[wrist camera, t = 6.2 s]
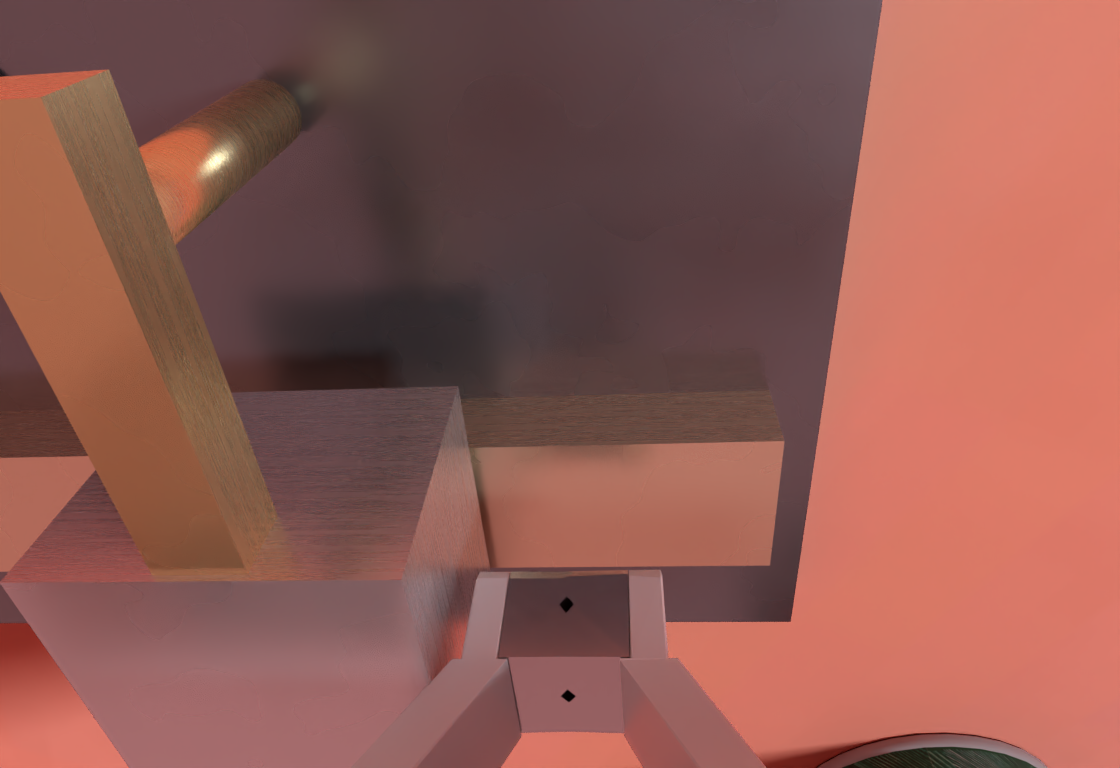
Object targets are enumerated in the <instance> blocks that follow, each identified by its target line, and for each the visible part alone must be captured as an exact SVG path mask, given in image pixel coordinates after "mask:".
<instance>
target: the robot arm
mask: <svg viewBox="0 0 1120 768" xmlns="http://www.w3.org/2000/svg"><path fill="white" fill-rule="evenodd" d="M530 732H601V733H624V736H625V738H626V740H627V741H628V743H629V745H630V746H631V748H632V750H633V751H634V753H635V755H636V756H637V758H638V760H639V761H640V763H641V765H642V766H643V768H766V766H765V765H764V764H763V763H762V761H761V760H760V759H759V758H758V756H757V755H756V754H755V753H754V752H753V750H752V749H751V748H750V747H749V745H748V744H747V743H746V742H745V740H744V739H743V738H742V737H741V736H740V734H739V733H738V732H737V731H736V729H735V728H734V727H733V726H732V724H731V723H730V722H729V721H728V719H727V718H726V717H725V716H724V715H723V713H722V712H721V711H720V710H719V708H718V707H717V706H716V705H715V703H714V702H713V701H712V700H711V699H710V697H709V696H708V695H707V694H706V692H705V691H704V690H703V689H702V687H701V686H700V685H699V684H698V683H697V681H696V680H695V679H694V678H693V676H692V675H691V674H690V673H689V671H688V670H687V669H686V668H685V666H684V665H683V664H682V663H681V662H680V660H679V659H678V658H668V647H667V633H666V620H665V606H664V592H663V579H662V573H661V570H629V580H628V570H602V571H567V572H513V571H511V572H480V573H479V575H478V577H477V579H476V583H475V588H474V593H473V599H472V604H471V609H470V614H469V620H468V625H467V630H466V636H465V641H464V646H463V651H462V657H461V659H452V660H451V661H450V662H449V663H448V664H447V665H446V666H445V667H444V668H443V669H442V670H441V671H440V672H439V674H438V675H437V676H436V677H435V678H434V679H433V680H432V681H431V683H430V685H427V686H426V687H425V689H424V690H423V691H422V692H421V693H420V694H419V695H418V696H417V697H416V698H415V699H414V700H413V701H412V702H411V704H410V705H409V706H408V707H407V708H406V709H405V710H404V711H403V712H402V713H401V714H400V715H399V716H398V718H397V719H396V720H395V721H394V722H393V723H392V724H391V725H390V726H389V727H388V728H387V729H386V730H385V731H384V733H383V734H382V735H381V736H380V737H379V738H378V739H377V740H376V741H375V742H374V743H373V744H372V745H371V746H370V748H369V749H368V750H367V751H366V752H365V753H364V754H363V755H362V756H361V757H360V758H359V759H358V760H357V761H356V763H355V764H354V765H353V766H352V767H351V768H501V766H502V765H503V763H504V762H505V760H506V759H507V757H508V756H509V754H510V753H511V751H512V750H513V748H514V747H515V745H516V744H517V742H518V741H519V739H520V738H521V733H530Z"/></svg>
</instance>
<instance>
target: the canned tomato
mask: <svg viewBox="0 0 1120 768" xmlns="http://www.w3.org/2000/svg"><path fill="white" fill-rule="evenodd" d="M818 768H1047V767H1046V765H1045V764H1044V763H1043V762H1042V761H1041V760H1039V759H1038V758H1036V757H1034V756H1033V755H1031V754H1029V753H1028V752H1026V751H1024V750H1023V749H1020V748H1018V747H1015V746H1012V745H1009V744H1007V743H1004V742H1001V741H997V740H993V739H988V738H983V737H978V736H970V735H958V734H922V735H912V736H905V737H898V738H891V739H887V740H883V741H879V742H875V743H871V744H867V745H863V746H861V747H858V748H855V749H853V750H850V751H847V752H845V753H842V754H840V755H838V756H836V757H834V758H833V759H831V760H829V761H827V762H825V763H823V764H822V765H820V766H819V767H818Z"/></svg>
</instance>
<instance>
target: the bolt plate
mask: <svg viewBox="0 0 1120 768" xmlns="http://www.w3.org/2000/svg"><path fill="white" fill-rule="evenodd" d="M881 7H882V0H0V77H4V76H19V75H34V74H49V73H64V72H79V71H94V70H109V71H110V73H111V76H112V79H113V81H114V84H115V87H116V89H117V92H118V95H119V97H120V100H121V103H122V105H123V108H124V111H125V113H126V116H127V118H128V121H129V124H130V126H131V129H132V132H133V134H134V137H135V140H136V142H137V145H138V148H139V147H140V146H142V145H144V144H145V143H147V142H149V141H150V140H152V139H154V138H155V137H157V136H159V135H160V134H162V133H164V132H165V131H167V130H169V129H170V128H172V127H174V126H175V125H177V124H179V123H180V122H182V121H184V120H185V119H187V118H189V117H190V116H192V115H194V114H195V113H197V112H199V111H200V110H202V109H204V108H205V107H207V106H209V105H210V104H212V103H214V102H215V101H217V100H219V99H220V98H222V97H224V96H225V95H227V94H229V93H230V92H232V91H234V90H235V89H237V88H239V87H240V86H242V85H244V84H245V83H247V82H249V81H252V80H257V79H264V80H269V81H272V82H275V83H277V84H279V85H281V86H282V87H284V88H285V89H286V90H287V91H288V92H289V93H290V94H291V95H292V96H293V98H294V99H295V101H296V102H297V104H298V106H299V109H300V112H301V116H302V127H301V131H300V134H299V136H298V137H297V139H296V140H295V141H294V142H293V143H292V144H291V145H290V146H288V147H287V148H286V149H285V150H284V151H283V152H282V153H280V154H279V155H278V156H277V157H276V158H275V159H274V160H272V161H271V162H270V163H269V164H268V165H267V166H266V167H264V168H263V169H262V170H261V171H260V172H259V173H258V174H256V175H255V176H254V177H253V178H252V179H251V180H250V181H248V182H247V183H246V184H245V185H244V186H243V187H242V188H240V189H239V190H238V191H237V192H236V193H235V194H234V195H232V196H231V197H230V198H229V199H228V200H227V201H226V202H224V203H223V204H222V205H221V206H220V207H219V208H218V209H216V210H215V211H214V212H213V213H212V214H211V215H210V216H208V217H207V218H206V219H205V220H204V221H203V222H202V223H200V224H199V225H198V226H197V227H196V228H195V229H194V230H192V231H191V232H190V233H189V234H188V235H187V236H186V237H185V238H183V239H182V240H181V241H180V242H179V243H178V244H177V245H176V248H177V251H178V253H179V256H180V259H181V261H182V264H183V267H184V269H185V272H186V275H187V277H188V280H189V282H190V285H191V288H192V290H193V293H194V296H195V298H196V301H197V304H198V306H199V309H200V312H201V314H202V317H203V320H204V322H205V325H206V327H207V330H208V333H209V335H210V338H211V341H212V343H213V346H214V349H215V351H216V354H217V357H218V359H219V362H220V365H221V367H222V370H223V372H224V375H225V378H226V380H227V383H228V386H229V388H230V391H231V393H236V392H271V391H306V390H341V389H376V388H411V387H446V386H458V389H459V395H460V400H461V406H462V412H463V418H464V423H465V429H466V435H467V440H468V446H469V452H470V457H471V463H472V469H473V474H474V480H475V486H476V491H477V497H478V503H479V509H480V514H481V520H482V526H483V531H484V537H485V543H486V548H487V554H488V560H489V565H490V571H491V572H511V571H513V572H567V571H602V570H628V580H629V570H661V573H662V579H663V592H664V606H665V620H666V622H791V615H792V608H793V602H794V595H795V588H796V581H797V574H798V568H799V561H800V554H801V547H802V541H803V534H804V527H805V520H806V514H807V507H808V500H809V493H810V487H811V480H812V473H813V466H814V460H815V453H816V446H817V439H818V433H819V426H820V419H821V412H822V405H823V399H824V392H825V385H826V378H827V372H828V365H829V358H830V351H831V345H832V338H833V331H834V324H835V318H836V311H837V304H838V297H839V291H840V284H841V277H842V270H843V264H844V257H845V250H846V243H847V237H848V230H849V223H850V216H851V209H852V203H853V196H854V189H855V182H856V176H857V169H858V162H859V155H860V149H861V142H862V135H863V128H864V122H865V115H866V108H867V101H868V95H869V88H870V81H871V74H872V68H873V61H874V54H875V47H876V41H877V34H878V27H879V20H880V13H881ZM94 471H95V468H94V466H93V464H92V462H91V460H90V458H89V457H88V455H87V453H86V451H85V449H84V447H83V445H82V443H81V442H80V440H79V438H78V436H77V434H76V432H75V430H74V428H73V427H72V425H71V423H70V421H69V419H68V417H67V415H66V414H65V412H64V410H63V408H62V406H61V404H60V402H59V400H58V399H57V397H56V395H55V393H54V391H53V389H52V387H51V385H50V384H49V382H48V380H47V378H46V376H45V374H44V372H43V370H42V369H41V367H40V365H39V363H38V361H37V359H36V357H35V356H34V354H33V352H32V350H31V348H30V346H29V344H28V342H27V341H26V339H25V337H24V335H23V333H22V331H21V329H20V327H19V326H18V324H17V322H16V320H15V318H14V316H13V314H12V313H11V311H10V309H9V307H8V305H7V303H6V301H5V299H4V298H3V296H2V294H1V292H0V582H1V580H2V579H3V578H4V577H5V576H6V575H7V573H8V572H9V571H10V570H11V569H12V568H13V566H14V565H15V564H16V563H17V562H18V560H19V559H20V558H21V557H22V556H23V555H24V553H25V552H26V551H27V550H28V549H29V548H30V546H31V545H32V544H33V543H34V542H35V540H36V539H37V538H38V537H39V536H40V535H41V533H42V532H43V531H44V530H45V529H46V528H47V526H48V525H49V524H50V523H51V522H52V520H53V519H54V518H55V517H56V516H57V515H58V513H59V512H60V511H61V510H62V509H63V508H64V506H65V505H66V504H67V503H68V502H69V500H70V499H71V498H72V497H73V496H74V495H75V493H76V492H77V491H78V490H79V489H80V488H81V486H82V485H83V484H84V483H85V482H86V480H87V479H88V478H89V477H90V476H91V475H92V473H93V472H94ZM0 623H27V621H26V620H25V618H24V617H23V615H22V614H21V613H20V611H19V610H18V608H17V607H16V605H15V604H14V603H13V601H12V600H11V598H10V597H9V595H8V594H7V593H6V591H5V590H4V588H3V587H2V585H1V584H0Z"/></svg>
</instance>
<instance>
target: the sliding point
mask: <svg viewBox="0 0 1120 768" xmlns="http://www.w3.org/2000/svg"><path fill="white" fill-rule="evenodd" d="M301 127H302V116H301V112H300V109H299V106H298V104H297V102H296V101H295V99H294V98H293V96H292V95H291V94H290V93H289V92H288V91H287V90H286V89H285V88H284V87H282V86H281V85H279V84H277V83H275V82H272V81H269V80H264V79H257V80H252V81H249V82H247V83H245V84H244V85H242V86H240V87H239V88H237V89H235V90H234V91H232V92H230V93H229V94H227V95H225V96H224V97H222V98H220V99H219V100H217V101H215V102H214V103H212V104H210V105H209V106H207V107H205V108H204V109H202V110H200V111H199V112H197V113H195V114H194V115H192V116H190V117H189V118H187V119H185V120H184V121H182V122H180V123H179V124H177V125H175V126H174V127H172V128H170V129H169V130H167V131H165V132H164V133H162V134H160V135H159V136H157V137H155V138H154V139H152V140H150V141H149V142H147V143H145V144H144V145H142V146H140V147H139V148H138V145H137V142H136V140H135V137H134V134H133V132H132V129H131V126H130V124H129V121H128V118H127V116H126V113H125V111H124V108H123V105H122V103H121V100H120V97H119V95H118V92H117V89H116V87H115V84H114V81H113V79H112V76H111V73H110V71H109V70H94V71H79V72H64V73H49V74H34V75H19V76H4V77H0V292H1V294H2V296H3V298H4V299H5V301H6V303H7V305H8V307H9V309H10V311H11V313H12V314H13V316H14V318H15V320H16V322H17V324H18V326H19V327H20V329H21V331H22V333H23V335H24V337H25V339H26V341H27V342H28V344H29V346H30V348H31V350H32V352H33V354H34V356H35V357H36V359H37V361H38V363H39V365H40V367H41V369H42V370H43V372H44V374H45V376H46V378H47V380H48V382H49V384H50V385H51V387H52V389H53V391H54V393H55V395H56V397H57V399H58V400H59V402H60V404H61V406H62V408H63V410H64V412H65V414H66V415H67V417H68V419H69V421H70V423H71V425H72V427H73V428H74V430H75V432H76V434H77V436H78V438H79V440H80V442H81V443H82V445H83V447H84V449H85V451H86V453H87V455H88V457H89V458H90V460H91V462H92V464H93V466H94V468H95V471H94V472H93V473H92V475H91V476H90V477H89V478H88V479H87V480H86V482H85V483H84V484H83V485H82V486H81V488H80V489H79V490H78V491H77V492H76V493H75V495H74V496H73V497H72V498H71V499H70V500H69V502H68V503H67V504H66V505H65V506H64V508H63V509H62V510H61V511H60V512H59V513H58V515H57V516H56V517H55V518H54V519H53V520H52V522H51V523H50V524H49V525H48V526H47V528H46V529H45V530H44V531H43V532H42V533H41V535H40V536H39V537H38V538H37V539H36V540H35V542H34V543H33V544H32V545H31V546H30V548H29V549H28V550H27V551H26V552H25V553H24V555H23V556H22V557H21V558H20V559H19V560H18V562H17V563H16V564H15V565H14V566H13V568H12V569H11V570H10V571H9V572H8V573H7V575H6V576H5V577H4V578H3V579H2V580H1V582H0V584H1V585H2V587H3V588H4V590H5V591H6V593H7V594H8V595H9V597H10V598H11V600H12V601H13V603H14V604H15V605H16V607H17V608H18V610H19V611H20V613H21V614H22V615H23V617H24V618H25V620H26V621H27V623H28V624H29V625H30V627H31V628H32V630H33V631H34V633H35V634H36V635H37V637H38V638H39V640H40V641H41V643H42V644H43V645H44V647H45V648H46V650H47V651H48V652H49V654H50V655H51V657H52V658H53V660H54V661H55V662H56V664H57V665H58V667H59V668H60V670H61V671H62V672H63V674H64V675H65V677H66V678H67V680H68V681H69V682H70V684H71V685H72V687H73V688H74V690H75V691H76V692H77V694H78V695H79V697H80V698H81V700H82V701H83V702H84V704H85V705H86V707H87V708H88V710H89V711H90V712H91V714H92V715H93V717H94V718H95V720H96V721H97V722H98V724H99V725H100V727H101V728H102V729H103V731H104V732H105V734H106V735H107V737H108V738H109V739H110V741H111V742H112V744H113V745H114V747H115V748H116V749H117V751H118V752H119V754H120V755H121V757H122V758H123V759H124V761H125V762H126V764H127V765H128V767H129V768H351V767H352V766H353V765H354V764H355V763H356V761H357V760H358V759H359V758H360V757H361V756H362V755H363V754H364V753H365V752H366V751H367V750H368V749H369V748H370V746H371V745H372V744H373V743H374V742H375V741H376V740H377V739H378V738H379V737H380V736H381V735H382V734H383V733H384V731H385V730H386V729H387V728H388V727H389V726H390V725H391V724H392V723H393V722H394V721H395V720H396V719H397V718H398V716H399V715H400V714H401V713H402V712H403V711H404V710H405V709H406V708H407V707H408V706H409V705H410V704H411V702H412V701H413V700H414V699H415V698H416V697H417V696H418V695H419V694H420V693H421V692H422V691H423V690H424V689H425V687H426V686H427V685H430V683H431V681H432V680H433V679H434V678H435V677H436V676H437V675H438V674H439V672H440V671H441V670H442V669H443V668H444V667H445V666H446V665H447V664H448V663H449V662H450V661H451V660H452V659H461V657H462V651H463V646H464V641H465V636H466V630H467V625H468V620H469V614H470V609H471V604H472V599H473V593H474V588H475V583H476V579H477V577H478V575H479V573H480V572H491V571H490V565H489V560H488V554H487V548H486V543H485V537H484V531H483V526H482V520H481V514H480V509H479V503H478V497H477V491H476V486H475V480H474V474H473V469H472V463H471V457H470V452H469V446H468V440H467V435H466V429H465V423H464V418H463V412H462V406H461V400H460V395H459V389H458V386H446V387H411V388H376V389H341V390H306V391H271V392H236V393H231V391H230V388H229V386H228V383H227V380H226V378H225V375H224V372H223V370H222V367H221V365H220V362H219V359H218V357H217V354H216V351H215V349H214V346H213V343H212V341H211V338H210V335H209V333H208V330H207V327H206V325H205V322H204V320H203V317H202V314H201V312H200V309H199V306H198V304H197V301H196V298H195V296H194V293H193V290H192V288H191V285H190V282H189V280H188V277H187V275H186V272H185V269H184V267H183V264H182V261H181V259H180V256H179V253H178V251H177V248H176V245H177V244H178V243H179V242H180V241H181V240H182V239H183V238H185V237H186V236H187V235H188V234H189V233H190V232H191V231H192V230H194V229H195V228H196V227H197V226H198V225H199V224H200V223H202V222H203V221H204V220H205V219H206V218H207V217H208V216H210V215H211V214H212V213H213V212H214V211H215V210H216V209H218V208H219V207H220V206H221V205H222V204H223V203H224V202H226V201H227V200H228V199H229V198H230V197H231V196H232V195H234V194H235V193H236V192H237V191H238V190H239V189H240V188H242V187H243V186H244V185H245V184H246V183H247V182H248V181H250V180H251V179H252V178H253V177H254V176H255V175H256V174H258V173H259V172H260V171H261V170H262V169H263V168H264V167H266V166H267V165H268V164H269V163H270V162H271V161H272V160H274V159H275V158H276V157H277V156H278V155H279V154H280V153H282V152H283V151H284V150H285V149H286V148H287V147H288V146H290V145H291V144H292V143H293V142H294V141H295V140H296V139H297V137H298V136H299V134H300V131H301Z"/></svg>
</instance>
